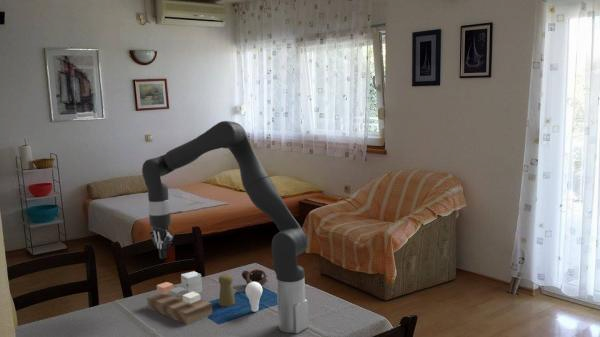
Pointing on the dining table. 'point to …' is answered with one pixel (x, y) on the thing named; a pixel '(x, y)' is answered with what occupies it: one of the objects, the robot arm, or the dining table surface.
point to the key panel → (179, 307)
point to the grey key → (178, 292)
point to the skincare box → (192, 282)
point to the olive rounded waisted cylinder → (226, 290)
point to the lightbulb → (254, 294)
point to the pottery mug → (255, 276)
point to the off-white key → (191, 297)
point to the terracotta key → (165, 287)
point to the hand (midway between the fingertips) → (163, 257)
